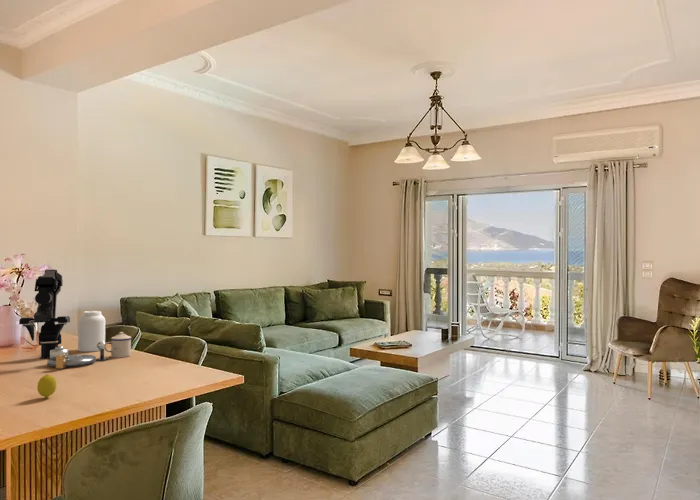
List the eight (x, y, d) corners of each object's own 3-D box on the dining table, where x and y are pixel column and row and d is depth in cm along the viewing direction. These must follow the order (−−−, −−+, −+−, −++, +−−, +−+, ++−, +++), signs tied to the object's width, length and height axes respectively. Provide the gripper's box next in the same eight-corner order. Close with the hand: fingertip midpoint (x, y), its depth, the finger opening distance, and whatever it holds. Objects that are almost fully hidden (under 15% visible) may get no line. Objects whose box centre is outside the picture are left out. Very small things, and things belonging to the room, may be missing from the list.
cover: (46, 360, 224) (47, 348, 224) (54, 357, 230) (54, 345, 231) (63, 360, 224) (64, 348, 224) (70, 357, 231) (70, 345, 231)
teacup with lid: (130, 353, 253) (130, 330, 253) (131, 357, 245) (132, 332, 245) (103, 355, 248) (103, 331, 248) (104, 359, 240) (104, 334, 240)
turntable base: (51, 367, 221) (51, 365, 221) (63, 361, 233) (63, 360, 233) (80, 366, 223) (80, 365, 223) (91, 361, 235) (91, 359, 235)
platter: (35, 368, 215) (35, 356, 215) (59, 358, 236) (59, 347, 236) (83, 367, 217) (83, 355, 217) (102, 357, 238) (102, 346, 239)
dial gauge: (95, 361, 235) (96, 341, 235) (99, 359, 239) (99, 340, 239) (105, 361, 235) (105, 341, 235) (108, 359, 239) (108, 340, 239)
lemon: (42, 395, 176) (42, 372, 176) (59, 395, 176) (59, 372, 176) (33, 400, 170) (34, 376, 170) (51, 400, 171) (51, 376, 171)
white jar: (110, 348, 268) (110, 310, 268) (93, 352, 256) (93, 312, 256) (89, 347, 271) (90, 309, 271) (72, 351, 258) (72, 312, 259)
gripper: (15, 305, 217) (13, 342, 215) (64, 304, 222) (63, 340, 220) (24, 305, 227) (23, 340, 226) (70, 303, 232) (69, 338, 231)
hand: (44, 340), depth 226 cm, fingers open, 9 cm apart
